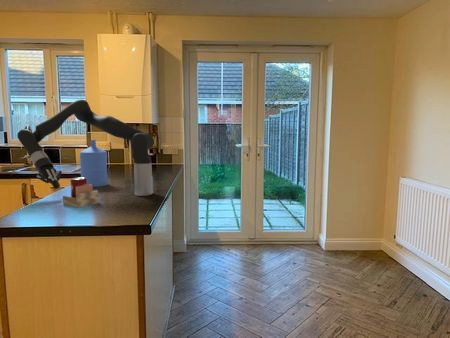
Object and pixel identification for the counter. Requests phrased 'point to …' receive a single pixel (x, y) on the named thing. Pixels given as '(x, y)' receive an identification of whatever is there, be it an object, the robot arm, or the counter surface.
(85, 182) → the soda can
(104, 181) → the water jug
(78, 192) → the catch plate
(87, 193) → the birch dock
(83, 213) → the counter surface
